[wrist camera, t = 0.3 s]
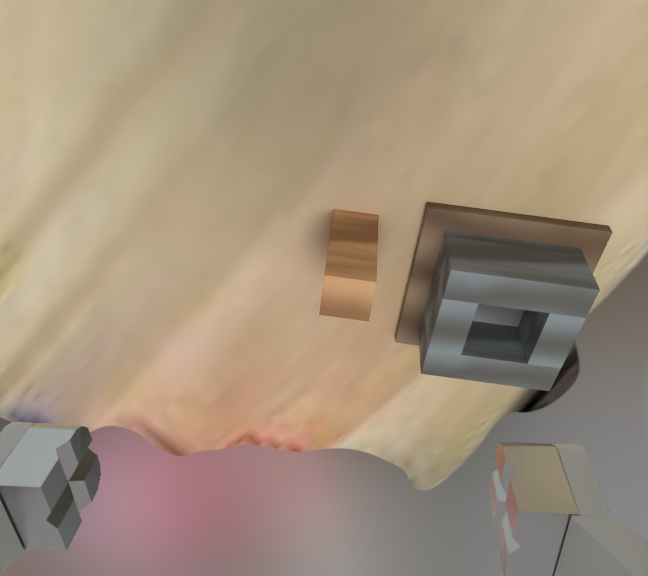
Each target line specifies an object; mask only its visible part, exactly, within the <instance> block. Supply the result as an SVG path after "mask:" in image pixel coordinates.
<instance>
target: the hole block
mask: <svg viewBox="0 0 648 576" xmlns="http://www.w3.org/2000/svg"><path fill="white" fill-rule="evenodd" d="M611 234H612V231H611V229H610V227H609V226H604V225H597V224H589V223H582V222H574V221H567V220H559V219H552V218H544V217H537V216H529V215H522V214H514V213H507V212H499V211H492V210H484V209H477V208H469V207H462V206H454V205H447V204H439V203H432V202H427V205H426V209H425V213H424V218H423V222H422V226H421V230H420V234H419V238H418V243H417V247H416V251H415V255H414V259H413V264H412V268H411V272H410V276H409V280H408V285H407V289H406V293H405V297H404V301H403V305H402V310H401V314H400V318H399V322H398V326H397V331H396V335H395V342H397V343H405V344H412V345H419V348H420V365H421V374H428V375H435V376H443V377H450V378H458V379H465V380H472V381H480V382H487V383H495V384H502V385H509V386H517V387H524V388H531V389H539V390H546V391H550V389H551V387H552V385H553V383H554V381H555V379H556V377H557V375H558V373H559V371H560V369H561V367H562V365H563V363H564V361H565V359H566V357H567V355H568V353H569V351H570V349H571V347H572V345H573V343H574V341H575V339H576V337H577V335H578V333H579V331H580V329H581V327H582V324H583V323H584V321H585V319H586V317H587V315H588V313H589V311H590V309H591V307H592V305H593V303H594V301H595V299H596V297H597V295H598V293H599V291H600V289H599V287H598V285H597V283H596V281H595V278H594V276H593V272H594V270H595V268H596V266H597V263H598V261H599V259H600V257H601V255H602V253H603V251H604V249H605V247H606V245H607V242H608V240H609V238H610V236H611Z"/></svg>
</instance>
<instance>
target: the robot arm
mask: <svg viewBox="0 0 648 576" xmlns="http://www.w3.org/2000/svg"><path fill="white" fill-rule="evenodd" d="M91 441H92V437H91V435H90V432H89V430H88V428H87V427H84V426H74V425H59V424H44V423H22V422H12V423H11V424H9V425H7V426H5V428H4V429H3V430H2V432H1V433H0V573H2V572H3V571H4V570H5V569H6V568H7V567H8V566H9V565H11V564H12V563H13V562H14V561H15V560H16V559H18V558H19V557H20V556H21V555H22V554H23V553H24V552H25V551H24V550H51V551H67V549H68V548H69V545H70V544H71V542H72V540H73V538H74V536H75V534H76V532H77V530H78V528H79V526H80V524H81V522H82V520H81V516H80V513H79V511H81V510H82V509H83V508H85V507H86V506H87V505H89V504H90V503H91V502H92V500H93V498H94V496H95V494H96V492H97V490H98V485H99V481H100V476H101V473H100V462H99V459H98V456H97V455H96V454H95V453H94V452H93V451H92V450H90V449H89V448H88V446H89V445H90V443H91ZM495 458H496V463H497V468H498V469H497V470H496V471H495V472H493V474H492V481H491V508H492V515H493V520H494V524H495V525H496V526H497V527H498V528H499V529H500V535H499V541H498V548H499V553H500V558H501V563H502V568H503V573H504V576H648V541H647V540H646V539H645V538H643V537H642V536H641V535H640V534H639V533H638V532H637V531H635V530H634V529H633V528H632V527H631V526H629V525H628V524H627V523H626V522H625V521H624V520H622V519H621V518H613V517H612V515H611V513H610V510H609V508H608V505H607V503H606V500H605V498H604V495H603V493H602V490H601V488H600V485H599V483H598V480H597V478H596V476H595V473H594V470H593V468H592V465H591V463H590V460H589V458H588V455H587V453H586V450H585V449H584V447H582V445H567V444H553V445H552V444H536V443H503V442H500V443H499V444H498V446H497V450H496V455H495Z"/></svg>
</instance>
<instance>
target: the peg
mask: <svg viewBox="0 0 648 576" xmlns="http://www.w3.org/2000/svg"><path fill="white" fill-rule="evenodd" d="M377 243H378V215H373V214H365V213H358V212H350V211H343V210H335V209H334V214H333V221H332V227H331V234H330V241H329V248H328V254H327V261H326V268H325V274H324V282H323V290H322V298H321V306H320V314H319V315H325V316H333V317H340V318H348V319H355V320H362V321H369V317H370V312H371V307H372V301H373V296H374V291H375V286H376V275H377Z"/></svg>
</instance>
